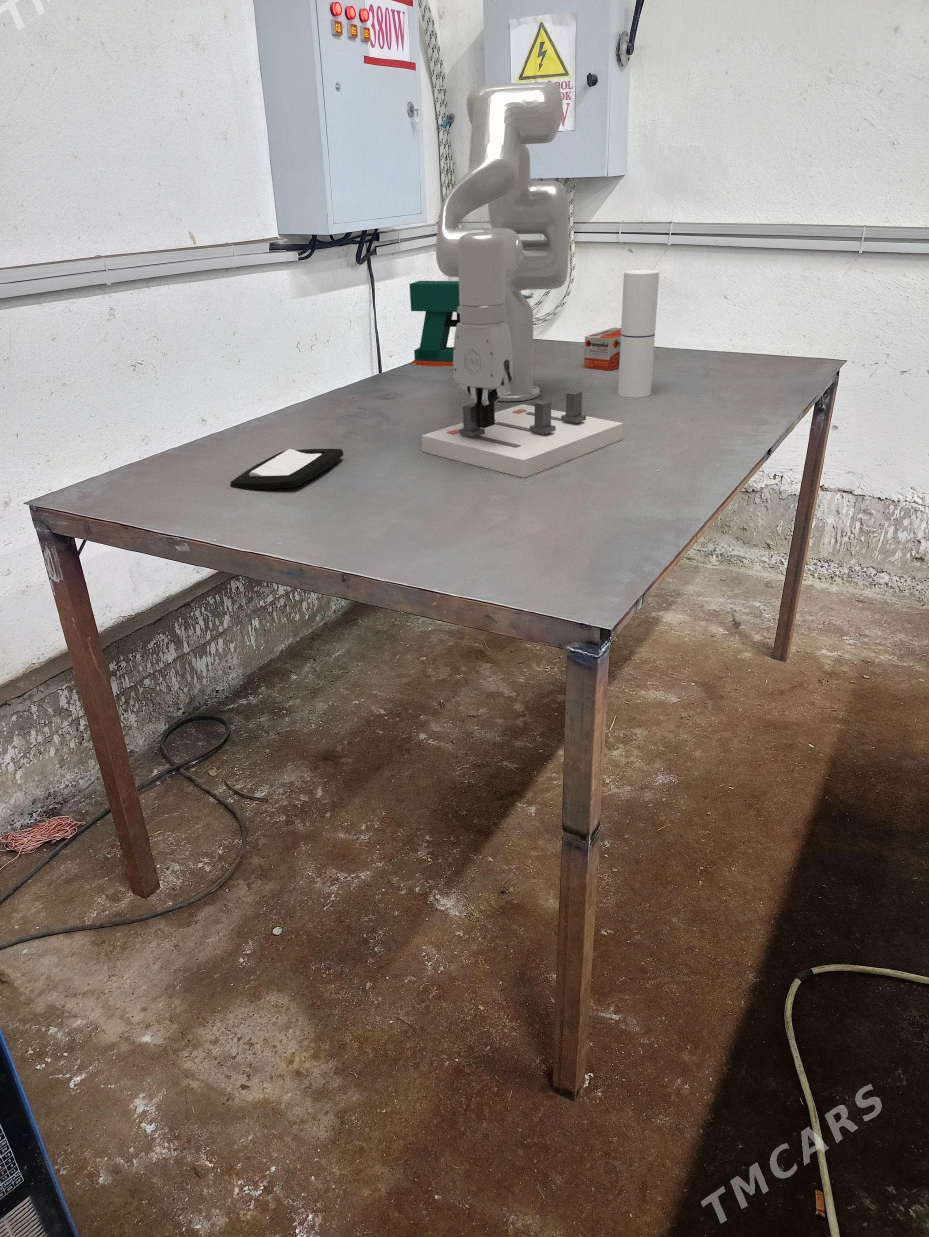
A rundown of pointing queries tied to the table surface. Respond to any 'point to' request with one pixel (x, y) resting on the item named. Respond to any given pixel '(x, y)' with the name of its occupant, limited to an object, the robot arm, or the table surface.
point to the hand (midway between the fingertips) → (485, 425)
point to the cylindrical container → (638, 332)
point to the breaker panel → (522, 442)
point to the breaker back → (573, 407)
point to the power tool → (436, 320)
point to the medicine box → (603, 350)
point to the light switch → (287, 469)
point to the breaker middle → (542, 418)
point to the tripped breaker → (470, 422)
